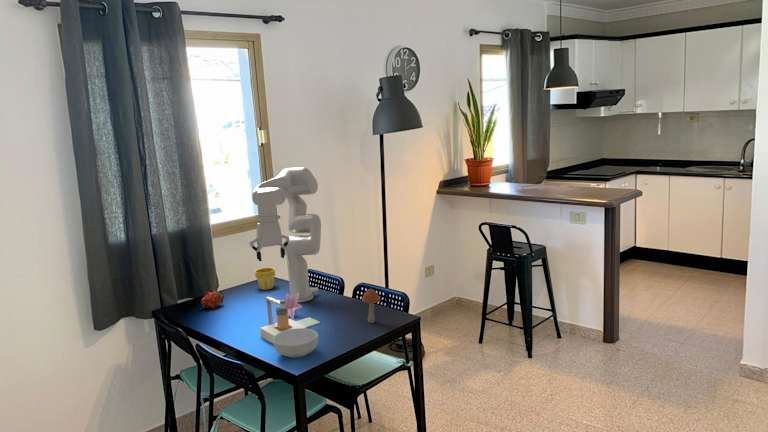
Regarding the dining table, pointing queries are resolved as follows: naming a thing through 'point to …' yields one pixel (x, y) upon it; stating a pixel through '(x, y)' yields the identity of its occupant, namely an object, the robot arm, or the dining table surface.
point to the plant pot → (265, 277)
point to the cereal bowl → (295, 342)
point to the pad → (308, 322)
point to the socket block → (276, 326)
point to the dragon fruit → (212, 299)
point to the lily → (291, 304)
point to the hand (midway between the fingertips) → (271, 259)
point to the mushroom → (371, 303)
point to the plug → (282, 318)
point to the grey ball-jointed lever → (275, 301)
